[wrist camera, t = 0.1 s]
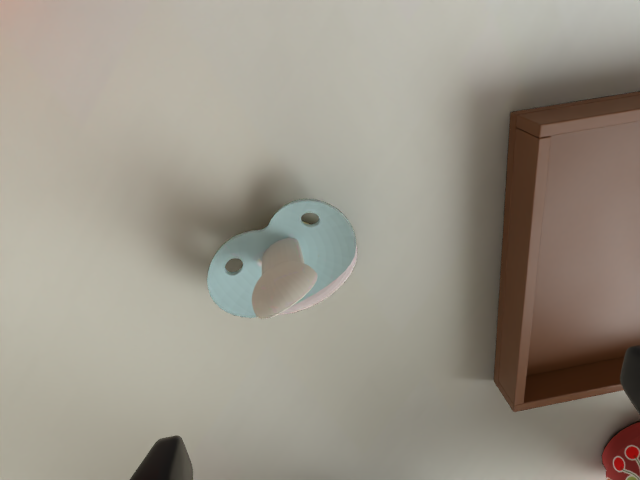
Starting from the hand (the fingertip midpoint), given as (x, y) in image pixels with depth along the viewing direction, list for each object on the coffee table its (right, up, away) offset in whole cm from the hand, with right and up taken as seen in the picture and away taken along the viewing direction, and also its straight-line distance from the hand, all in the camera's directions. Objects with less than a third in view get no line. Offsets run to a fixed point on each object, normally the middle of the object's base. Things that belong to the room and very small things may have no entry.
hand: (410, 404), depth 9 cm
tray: (+15, +3, +17) cm, 23 cm away
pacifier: (-3, +3, +15) cm, 16 cm away
